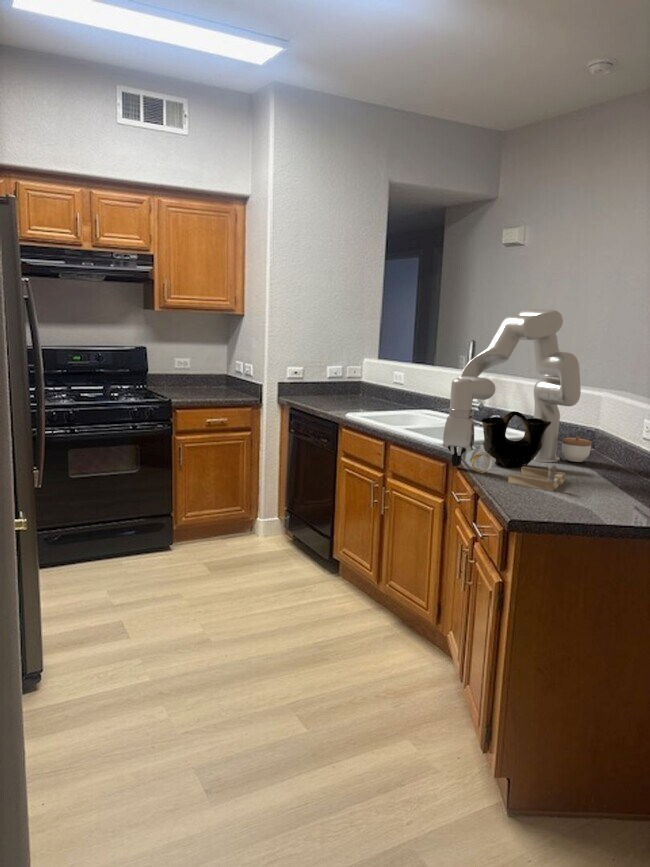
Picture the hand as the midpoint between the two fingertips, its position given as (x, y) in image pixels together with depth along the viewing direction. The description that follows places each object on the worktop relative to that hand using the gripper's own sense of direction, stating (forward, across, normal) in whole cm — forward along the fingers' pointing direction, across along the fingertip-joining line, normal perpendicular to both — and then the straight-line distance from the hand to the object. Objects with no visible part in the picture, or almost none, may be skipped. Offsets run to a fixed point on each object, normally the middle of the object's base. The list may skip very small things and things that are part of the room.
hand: (456, 465), depth 228 cm
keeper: (+1, -27, 0) cm, 27 cm away
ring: (+2, -9, 0) cm, 9 cm away
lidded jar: (+2, -30, -47) cm, 56 cm away
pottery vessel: (+2, -14, -20) cm, 24 cm away
